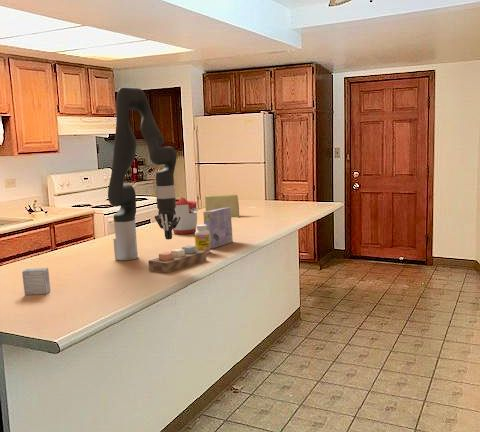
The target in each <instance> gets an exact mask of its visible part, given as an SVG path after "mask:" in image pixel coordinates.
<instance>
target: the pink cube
mask: <svg viewBox="0 0 480 432" xmlns="http://www.w3.org/2000/svg"><path fill="white" fill-rule="evenodd" d="M158 258H159V260H161V261H169V260H172V259H173V253H171V252H168V251H164V252H161V253H158Z"/></svg>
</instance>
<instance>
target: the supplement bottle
mask: <svg viewBox="0 0 480 432" xmlns="http://www.w3.org/2000/svg"><path fill="white" fill-rule="evenodd" d="M194 240H195V241H194V242H195V245H194V246H196V250H199V251H206V253H207V254H210V252H211V248H210V234H209V231H208V230H207V225H205V224H204V223H203V224H197V225H196V230H195V232H194Z"/></svg>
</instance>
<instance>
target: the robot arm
mask: <svg viewBox="0 0 480 432" xmlns="http://www.w3.org/2000/svg"><path fill="white" fill-rule="evenodd" d="M146 95H147V94H146V93H145V92H144V90H143V89H141V88H139V87H130V86H122V87H120V88H119V89H118V91H117V93H116V103H115V104H116V105H115V106H116V110H115V111H116V114H115V115H116V117H115V118H116V119H115V121H116V122H115V123H116V124H115V135H114V143H113V145H114V146H113V154H112V155H113V157H112V158H113V159H112V165H111V174H110V179H109V185H108V188H107V189H108V190H107V200H108V202H109V205H111V206H112V207H120V208H119V210H118V211H117V212H116V213H114V215H113V227H114V236H115V237H114V238H113V250H114V260H118V261H130V260H135V259H137V258H138V257H139V253H138V244H137V243H138V241H137V240H138V239H137V227H136V226H137V225H136V217H135V216H136V213H137V198H136V197H137V195H136V191H135V188H134V186H133V185H132V184H131V183H124V181H125V177H126V175H127V172H128V171H129V169H130V168H131V166H132V164H133V162H134V160H135V158H136V153H137V139H136V136H135V133H134V131H133V130H132V127H131V124H130V121H129V110H130V111H138V112H137V113H139V114H140V117H141V122H140V127H139V128H140V133H141V135H142V137H143V139H144V141H145V143H146V145H147V149H148V155H149V159H150V161H151V163H152V164H154V165H156V166H160V165H161V166H162V165H164V167H163V169H161V170H159V171H157V172H156V173H155V182H156V190H155V193H156V194H155V195H156V208H157V209H158V214H157V215H155V216H154V219H155V221H156V222H157V224H158V226H159V228H160V229H162V230H163V232H164V238H165V239H166V240H172V238H173V229H174V228H176V226H177V224H178V222H179V221H180V217H177V216H176V212H175V208H176V202H177V199H176V188H175V179H174V176H175V175H174V174H175V170H176V169H175V168H176V164H177V158H178V157H177V156H178V155H177V151H176V149H175V147H173V146H169V145H168V146H163V144H164V143H165V141H164V140H165V139H164V136H163V135H162V132H161V131H160V128H159V127H158V125H157V123H156V121H155V118H154V115H153V113H152V109H151V106H150V104H149V101H148V98H147V96H146Z"/></svg>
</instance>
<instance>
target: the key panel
mask: <svg viewBox="0 0 480 432" xmlns="http://www.w3.org/2000/svg"><path fill="white" fill-rule="evenodd" d="M147 261H148V271H151V272H158V273H163V274H164V273H165V274H169V273H171V272H175V271H178V270H181V269H184V268H187V267H190V266H193V265H196V264H199V263H202V262H205V261H207V254H206V251H199V250H196V252H195V253H192V254H185V256H182V257H179V258H177V257H173V259H172V260H169V261H161V260H159V257H156V258H152V259H149V260H147Z"/></svg>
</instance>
